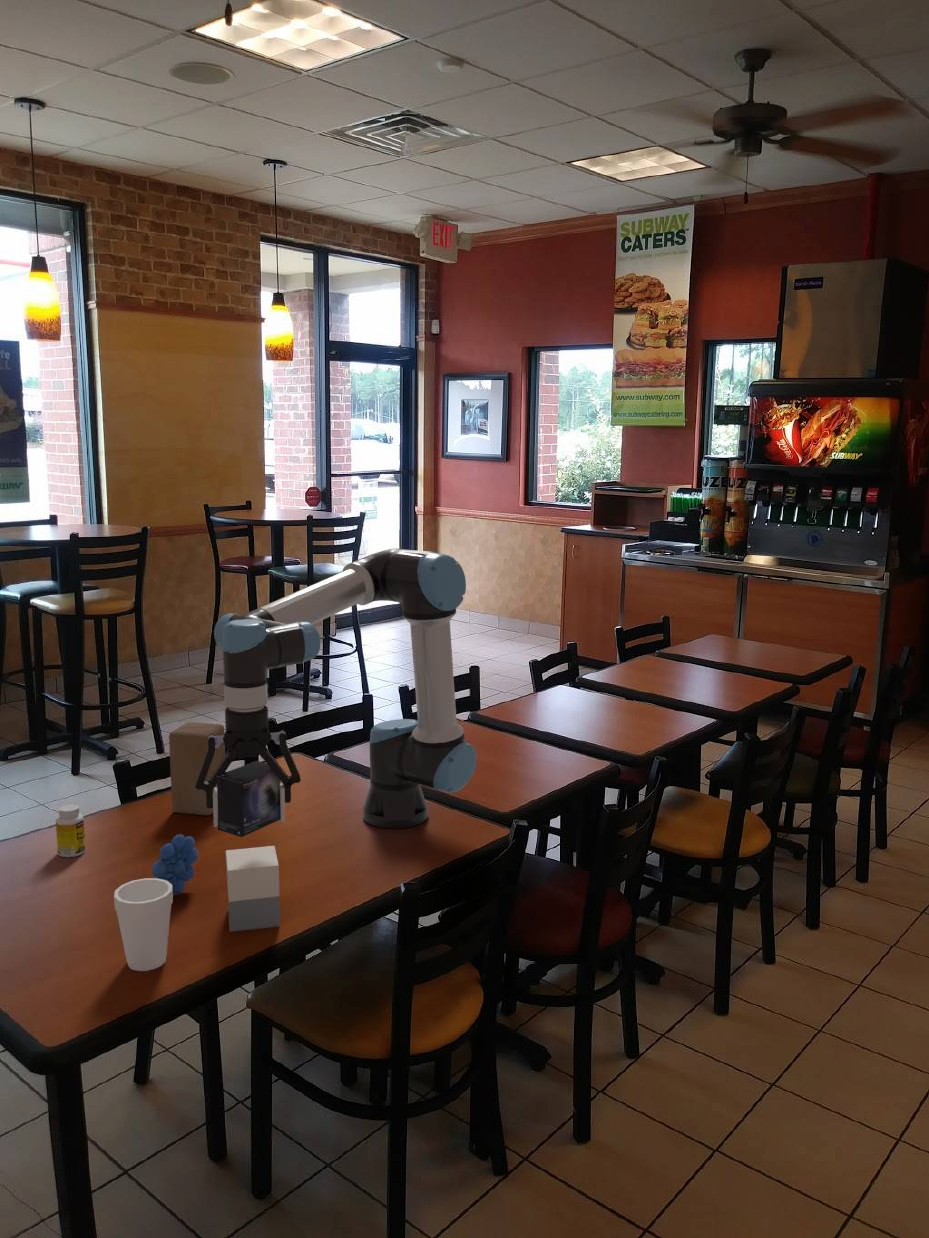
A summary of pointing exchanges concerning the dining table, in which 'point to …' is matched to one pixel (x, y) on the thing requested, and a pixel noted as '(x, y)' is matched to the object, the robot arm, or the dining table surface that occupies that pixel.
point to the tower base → (254, 914)
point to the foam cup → (144, 921)
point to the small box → (248, 799)
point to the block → (192, 765)
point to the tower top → (252, 873)
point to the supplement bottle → (70, 831)
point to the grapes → (176, 862)
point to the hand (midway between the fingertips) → (249, 821)
